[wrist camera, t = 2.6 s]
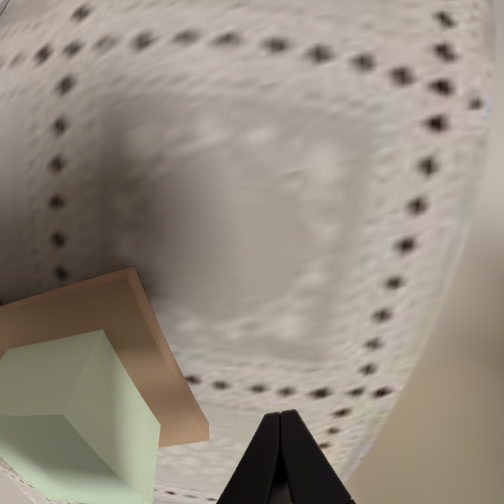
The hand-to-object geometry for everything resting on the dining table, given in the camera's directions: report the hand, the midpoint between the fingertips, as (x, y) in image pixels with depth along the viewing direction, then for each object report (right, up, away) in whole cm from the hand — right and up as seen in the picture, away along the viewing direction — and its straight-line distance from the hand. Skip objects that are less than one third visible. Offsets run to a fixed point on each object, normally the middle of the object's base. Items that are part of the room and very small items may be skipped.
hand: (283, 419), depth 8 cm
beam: (-13, -2, +4) cm, 14 cm away
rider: (-8, -1, +3) cm, 8 cm away
